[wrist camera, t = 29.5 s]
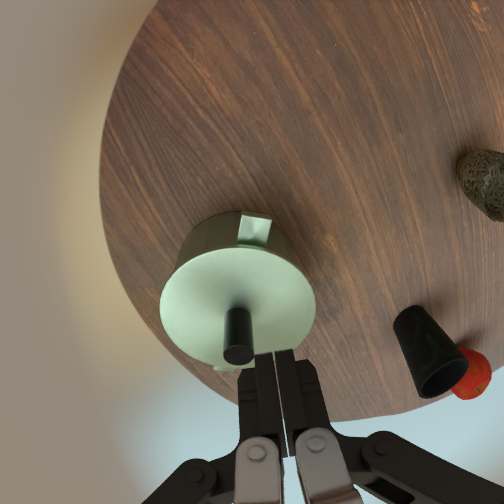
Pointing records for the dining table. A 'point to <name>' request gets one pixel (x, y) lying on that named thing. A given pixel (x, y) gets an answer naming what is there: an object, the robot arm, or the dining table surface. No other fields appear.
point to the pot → (236, 238)
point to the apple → (473, 376)
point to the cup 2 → (484, 181)
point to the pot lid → (237, 305)
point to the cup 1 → (429, 352)
